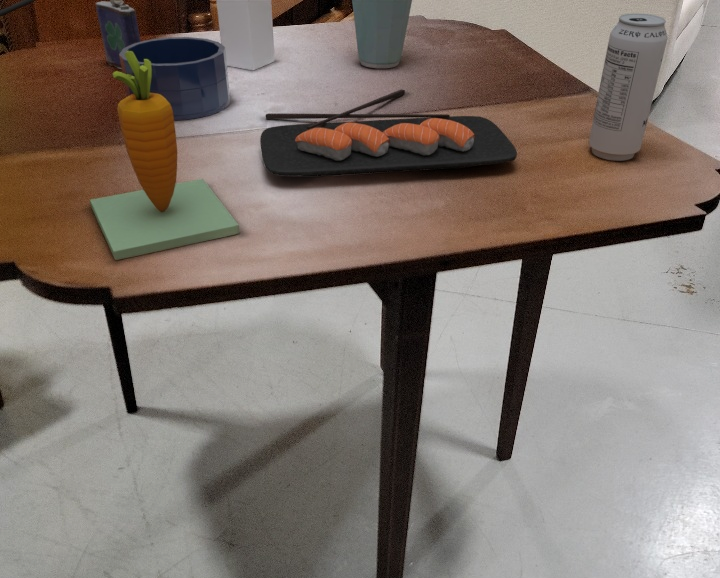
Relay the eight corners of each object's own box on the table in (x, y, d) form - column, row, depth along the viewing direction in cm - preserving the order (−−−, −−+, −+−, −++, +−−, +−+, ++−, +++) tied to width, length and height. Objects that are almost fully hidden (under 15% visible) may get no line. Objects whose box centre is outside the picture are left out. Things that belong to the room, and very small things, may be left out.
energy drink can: (648, 160, 86) (683, 24, 77) (600, 164, 85) (630, 26, 76) (623, 141, 91) (653, 11, 82) (578, 145, 90) (603, 13, 81)
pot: (120, 95, 104) (110, 43, 100) (213, 82, 109) (207, 32, 104) (142, 126, 94) (132, 70, 90) (243, 111, 99) (238, 57, 95)
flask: (103, 63, 116) (89, -11, 110) (120, 59, 118) (106, -14, 111) (135, 75, 111) (122, -1, 105) (152, 71, 113) (140, -4, 106)
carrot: (185, 222, 71) (160, 61, 62) (133, 223, 71) (100, 63, 62) (190, 199, 75) (167, 46, 66) (141, 201, 75) (111, 47, 66)
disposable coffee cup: (333, 64, 116) (331, -42, 107) (376, 50, 123) (378, -51, 114) (385, 77, 111) (388, -33, 102) (427, 62, 118) (433, -43, 108)
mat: (91, 208, 76) (89, 199, 75) (204, 186, 80) (203, 178, 79) (115, 260, 67) (113, 251, 67) (240, 233, 71) (239, 224, 71)
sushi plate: (266, 191, 79) (263, 157, 77) (254, 100, 102) (251, 72, 100) (523, 174, 83) (528, 142, 80) (455, 90, 106) (457, 63, 104)
